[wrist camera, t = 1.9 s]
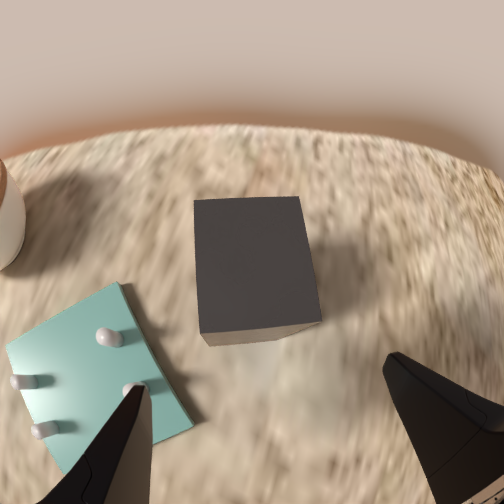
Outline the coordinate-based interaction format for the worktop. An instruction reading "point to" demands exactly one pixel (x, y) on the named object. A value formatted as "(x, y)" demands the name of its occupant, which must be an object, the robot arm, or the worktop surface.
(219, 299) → the plate
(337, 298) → the worktop surface
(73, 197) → the worktop surface
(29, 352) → the pin tray
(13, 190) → the lidded jar
